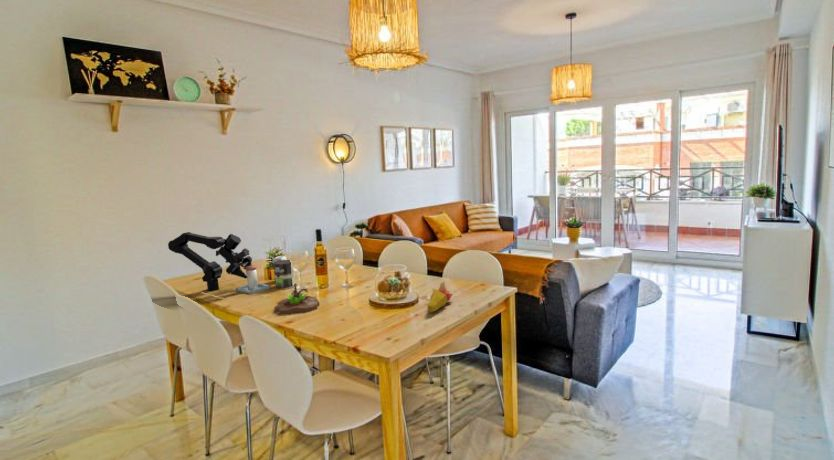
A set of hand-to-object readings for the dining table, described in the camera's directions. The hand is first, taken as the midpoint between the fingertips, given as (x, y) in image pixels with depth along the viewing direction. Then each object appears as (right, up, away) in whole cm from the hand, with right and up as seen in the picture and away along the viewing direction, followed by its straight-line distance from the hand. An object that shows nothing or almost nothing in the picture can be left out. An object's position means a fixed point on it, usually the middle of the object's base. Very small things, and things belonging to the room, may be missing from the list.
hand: (251, 275), depth 247 cm
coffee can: (+17, -7, +5) cm, 19 cm away
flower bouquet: (+98, -10, -40) cm, 106 cm away
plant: (+33, -12, -30) cm, 46 cm away
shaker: (+1, -7, +1) cm, 8 cm away
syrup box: (+12, -5, +17) cm, 21 cm away
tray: (+1, -8, +1) cm, 8 cm away
